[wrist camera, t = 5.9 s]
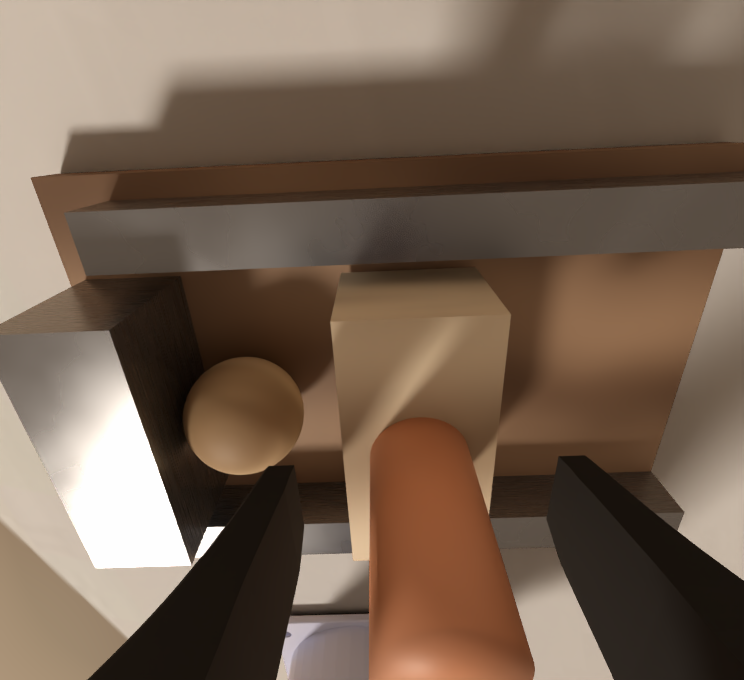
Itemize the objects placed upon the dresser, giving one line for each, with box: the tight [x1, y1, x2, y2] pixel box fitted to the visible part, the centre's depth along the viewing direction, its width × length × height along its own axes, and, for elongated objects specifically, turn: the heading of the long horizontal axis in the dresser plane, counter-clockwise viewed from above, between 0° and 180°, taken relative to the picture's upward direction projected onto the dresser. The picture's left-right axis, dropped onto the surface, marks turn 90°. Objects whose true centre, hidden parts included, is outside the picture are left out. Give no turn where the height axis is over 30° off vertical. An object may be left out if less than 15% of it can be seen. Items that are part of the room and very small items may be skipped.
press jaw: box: [330, 267, 535, 680], centre depth 11 cm, size 8×4×9 cm, turn 2°
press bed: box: [0, 142, 744, 568], centre depth 14 cm, size 14×20×5 cm
